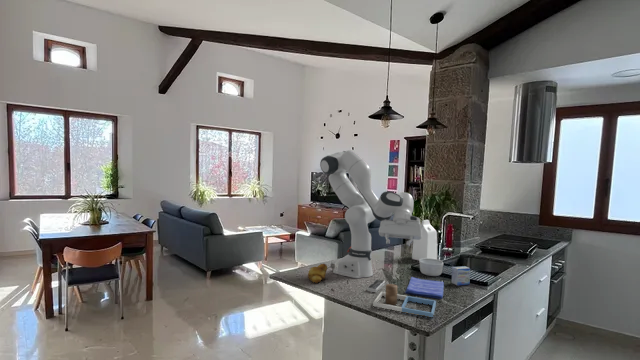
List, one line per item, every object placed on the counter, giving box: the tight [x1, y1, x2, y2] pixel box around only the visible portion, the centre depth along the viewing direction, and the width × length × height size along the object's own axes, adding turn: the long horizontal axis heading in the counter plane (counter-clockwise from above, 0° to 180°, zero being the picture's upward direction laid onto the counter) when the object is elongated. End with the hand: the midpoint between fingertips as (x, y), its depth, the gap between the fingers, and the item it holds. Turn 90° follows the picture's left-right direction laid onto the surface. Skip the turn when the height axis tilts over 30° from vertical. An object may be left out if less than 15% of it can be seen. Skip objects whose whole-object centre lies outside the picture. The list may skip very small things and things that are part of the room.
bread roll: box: [307, 263, 328, 284], centre depth 178 cm, size 13×10×8 cm
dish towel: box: [404, 276, 445, 300], centre depth 169 cm, size 17×24×3 cm
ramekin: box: [418, 258, 444, 277], centre depth 194 cm, size 13×13×7 cm
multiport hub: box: [366, 279, 386, 293], centre depth 168 cm, size 4×14×2 cm, turn 152°
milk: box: [411, 219, 438, 261], centre depth 224 cm, size 12×12×26 cm
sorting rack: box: [372, 291, 437, 318], centre depth 146 cm, size 24×15×2 cm, turn 66°
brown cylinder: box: [384, 283, 398, 306], centre depth 148 cm, size 5×5×8 cm
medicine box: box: [451, 265, 471, 286], centre depth 177 cm, size 8×4×9 cm, turn 105°
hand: (397, 244), depth 158 cm, fingers open, 8 cm apart
